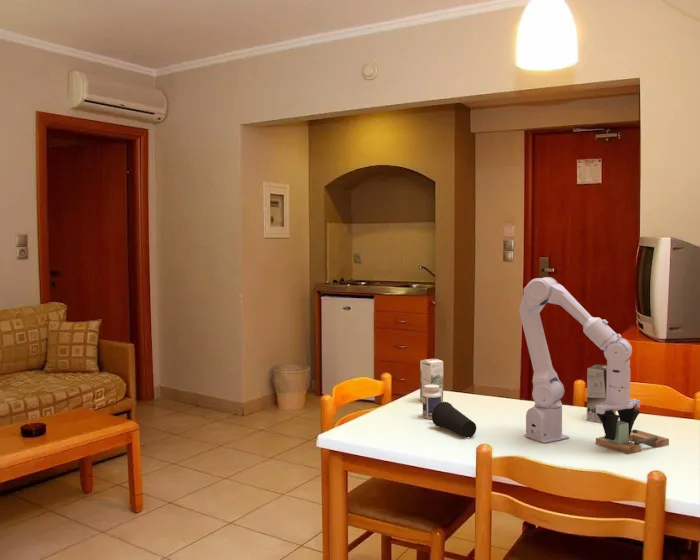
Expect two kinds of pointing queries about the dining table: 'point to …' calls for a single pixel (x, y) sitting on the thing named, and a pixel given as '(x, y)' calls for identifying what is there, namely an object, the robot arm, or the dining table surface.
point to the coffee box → (596, 390)
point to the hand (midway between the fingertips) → (617, 437)
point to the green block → (621, 433)
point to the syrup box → (431, 375)
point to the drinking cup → (452, 420)
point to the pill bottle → (430, 399)
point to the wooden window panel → (638, 439)
